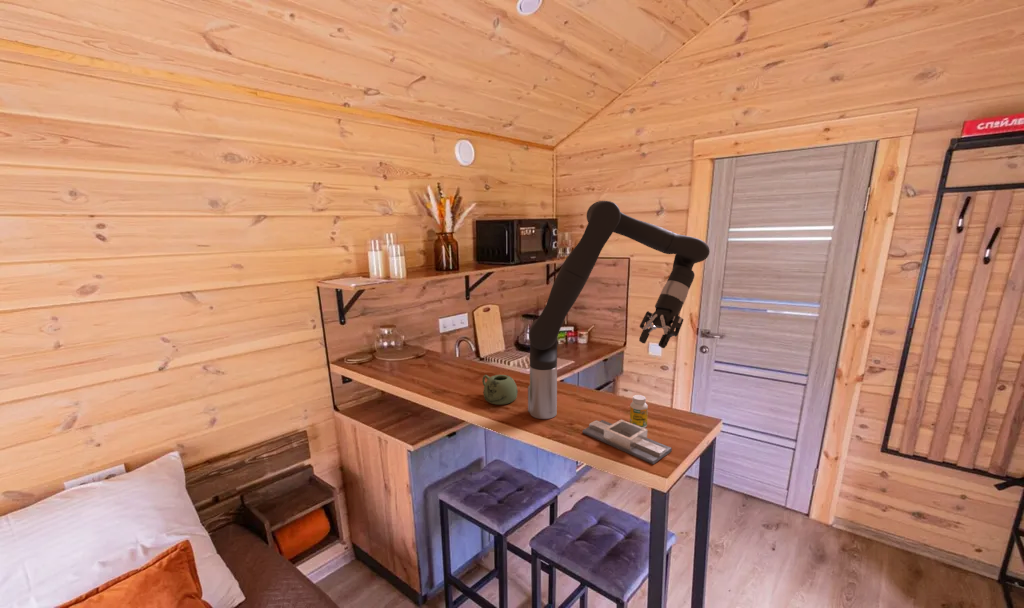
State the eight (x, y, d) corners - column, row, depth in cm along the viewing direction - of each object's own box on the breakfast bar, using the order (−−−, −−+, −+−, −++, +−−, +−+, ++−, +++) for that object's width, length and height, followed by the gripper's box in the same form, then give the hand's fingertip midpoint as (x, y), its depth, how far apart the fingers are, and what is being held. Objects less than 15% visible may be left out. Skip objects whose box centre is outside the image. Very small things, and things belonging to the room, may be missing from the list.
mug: (524, 398, 156) (524, 376, 154) (501, 409, 147) (500, 386, 145) (494, 388, 167) (494, 367, 165) (470, 397, 157) (470, 376, 156)
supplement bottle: (645, 421, 136) (646, 394, 134) (648, 429, 131) (649, 401, 129) (628, 420, 137) (629, 393, 135) (630, 428, 132) (631, 400, 130)
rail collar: (582, 432, 129) (582, 421, 129) (602, 422, 136) (602, 411, 135) (653, 464, 112) (654, 451, 111) (671, 451, 118) (672, 438, 117)
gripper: (648, 291, 135) (627, 336, 133) (681, 293, 122) (659, 343, 120) (663, 302, 138) (643, 345, 136) (697, 305, 125) (676, 354, 123)
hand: (651, 344), depth 128 cm, fingers open, 8 cm apart
